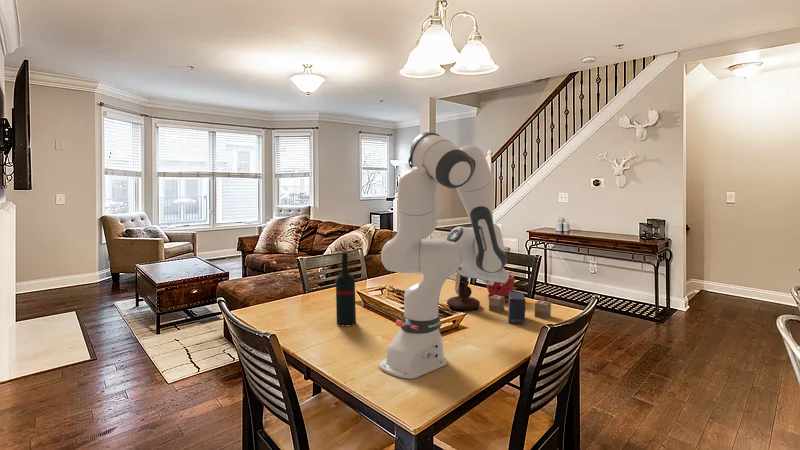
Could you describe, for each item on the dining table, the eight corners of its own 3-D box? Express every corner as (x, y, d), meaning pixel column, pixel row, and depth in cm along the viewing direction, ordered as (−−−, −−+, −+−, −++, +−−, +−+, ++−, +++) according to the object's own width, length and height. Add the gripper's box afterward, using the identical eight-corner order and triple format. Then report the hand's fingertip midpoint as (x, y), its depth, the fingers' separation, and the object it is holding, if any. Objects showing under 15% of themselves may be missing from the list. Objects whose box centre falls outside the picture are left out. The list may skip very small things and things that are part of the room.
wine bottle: (358, 317, 175) (356, 247, 171) (354, 326, 164) (353, 251, 161) (339, 317, 175) (337, 247, 171) (334, 326, 165) (332, 251, 161)
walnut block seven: (499, 312, 180) (499, 298, 179) (488, 310, 183) (489, 296, 182) (504, 309, 184) (504, 296, 183) (493, 307, 187) (494, 294, 186)
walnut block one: (546, 319, 171) (546, 304, 170) (534, 316, 174) (534, 302, 174) (550, 316, 175) (551, 301, 174) (538, 313, 178) (539, 299, 177)
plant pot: (519, 300, 197) (520, 276, 196) (499, 305, 191) (499, 279, 189) (500, 294, 208) (500, 270, 207) (480, 298, 202) (480, 274, 200)
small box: (525, 325, 165) (526, 299, 163) (508, 323, 166) (509, 298, 165) (523, 316, 175) (524, 292, 174) (507, 315, 176) (508, 291, 175)
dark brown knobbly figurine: (443, 302, 195) (444, 261, 192) (474, 301, 196) (475, 260, 194) (450, 312, 180) (451, 267, 178) (483, 311, 181) (484, 266, 179)
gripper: (503, 257, 143) (518, 280, 151) (456, 252, 158) (472, 273, 166) (495, 272, 141) (511, 294, 148) (449, 265, 155) (465, 286, 163)
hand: (490, 283), depth 157 cm, fingers closed
